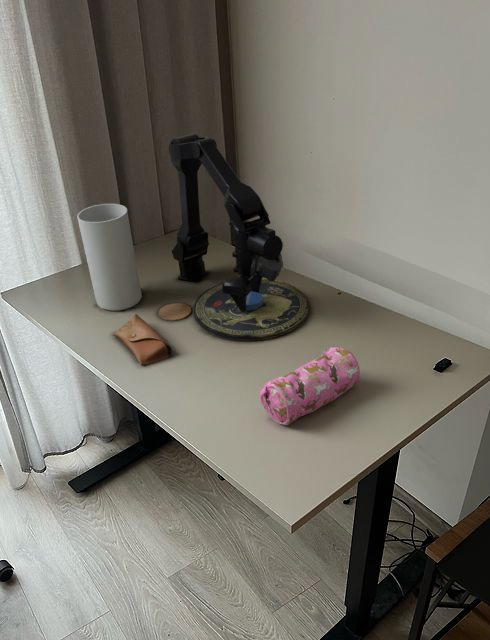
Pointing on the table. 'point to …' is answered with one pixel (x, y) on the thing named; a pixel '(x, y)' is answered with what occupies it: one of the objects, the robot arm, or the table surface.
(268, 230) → the robot arm
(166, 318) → the coaster
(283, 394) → the pencil case
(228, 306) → the decorative plate
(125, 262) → the cylinder vase
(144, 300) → the table surface
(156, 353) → the sunglasses case
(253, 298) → the flat blue disc
